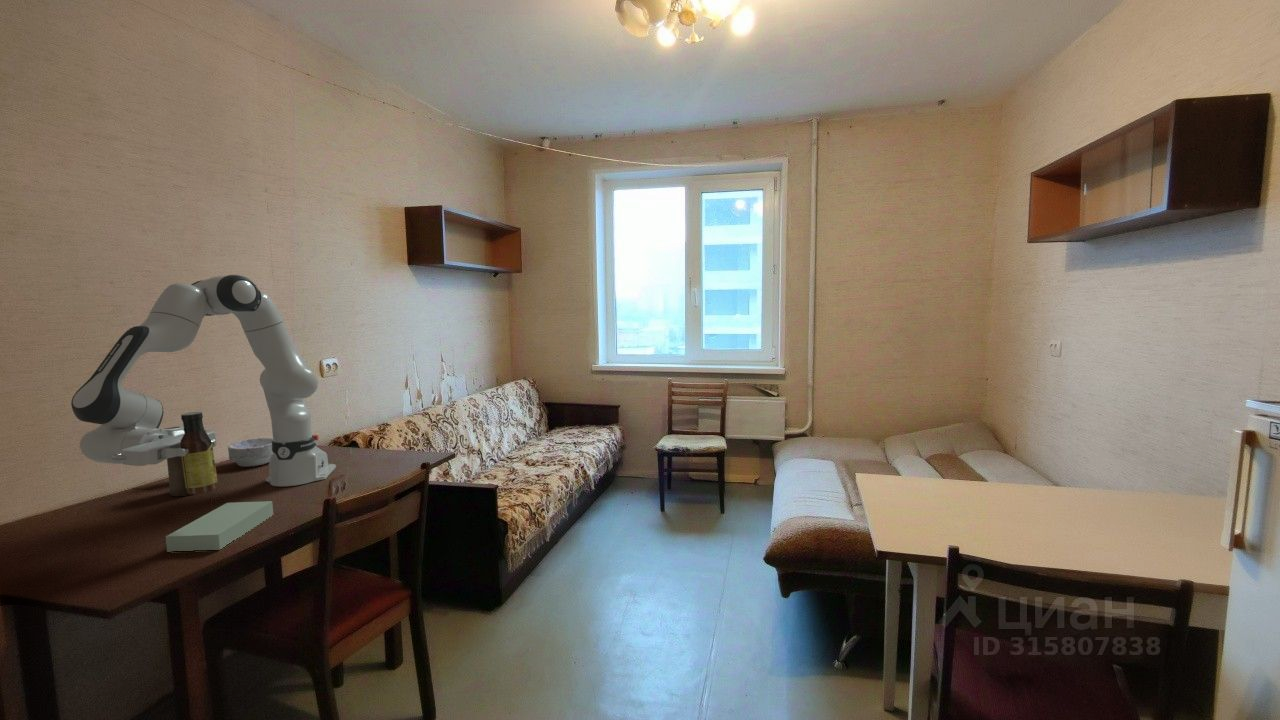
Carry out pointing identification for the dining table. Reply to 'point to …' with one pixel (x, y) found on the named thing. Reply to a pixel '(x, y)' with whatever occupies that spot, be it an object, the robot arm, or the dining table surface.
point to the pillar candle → (176, 477)
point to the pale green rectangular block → (219, 526)
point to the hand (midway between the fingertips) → (200, 447)
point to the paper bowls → (251, 452)
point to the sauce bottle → (197, 455)
